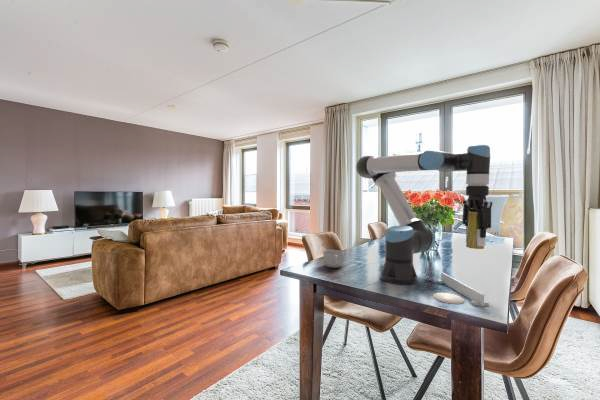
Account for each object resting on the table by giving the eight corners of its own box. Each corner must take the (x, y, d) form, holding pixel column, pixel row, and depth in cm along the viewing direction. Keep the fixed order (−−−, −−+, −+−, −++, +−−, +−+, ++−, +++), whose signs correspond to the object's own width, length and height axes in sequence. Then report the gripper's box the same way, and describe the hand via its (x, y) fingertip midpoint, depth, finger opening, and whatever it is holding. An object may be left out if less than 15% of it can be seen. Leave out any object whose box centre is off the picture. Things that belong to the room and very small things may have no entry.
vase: (462, 246, 112) (463, 210, 111) (474, 245, 113) (475, 210, 113) (475, 249, 106) (476, 212, 105) (488, 248, 108) (489, 212, 107)
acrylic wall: (475, 306, 95) (475, 294, 95) (436, 281, 121) (436, 272, 121) (489, 306, 95) (490, 294, 95) (447, 281, 121) (447, 272, 121)
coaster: (442, 304, 97) (442, 303, 97) (428, 293, 107) (428, 292, 107) (470, 303, 97) (470, 303, 97) (453, 293, 107) (453, 292, 107)
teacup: (323, 263, 151) (324, 248, 150) (344, 264, 149) (344, 249, 149) (322, 270, 137) (322, 254, 137) (344, 271, 135) (344, 255, 135)
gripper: (505, 185, 100) (502, 249, 101) (470, 185, 118) (468, 239, 119) (485, 185, 99) (482, 249, 100) (453, 185, 118) (451, 239, 119)
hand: (475, 244), depth 110 cm, fingers closed on vase, 6 cm apart
